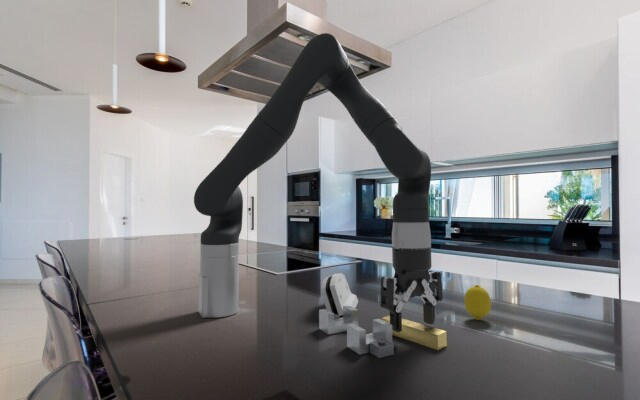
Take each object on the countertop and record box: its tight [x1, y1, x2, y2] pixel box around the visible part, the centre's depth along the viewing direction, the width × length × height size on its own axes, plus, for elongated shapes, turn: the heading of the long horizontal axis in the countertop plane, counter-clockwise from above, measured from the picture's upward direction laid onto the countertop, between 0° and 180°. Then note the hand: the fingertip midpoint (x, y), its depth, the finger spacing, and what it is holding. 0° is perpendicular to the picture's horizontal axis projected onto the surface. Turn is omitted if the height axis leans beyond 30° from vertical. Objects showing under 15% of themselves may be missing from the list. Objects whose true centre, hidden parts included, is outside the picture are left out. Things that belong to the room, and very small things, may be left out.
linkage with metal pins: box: [318, 305, 394, 359], centre depth 67 cm, size 7×21×4 cm, turn 28°
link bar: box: [381, 314, 448, 351], centre depth 67 cm, size 3×13×3 cm, turn 40°
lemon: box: [464, 284, 492, 321], centre depth 78 cm, size 6×6×8 cm
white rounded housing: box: [320, 272, 359, 316], centre depth 87 cm, size 17×5×10 cm, turn 167°
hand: (413, 326), depth 67 cm, fingers open, 8 cm apart
